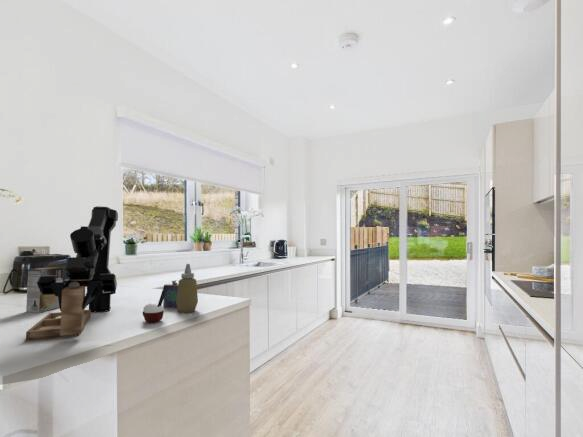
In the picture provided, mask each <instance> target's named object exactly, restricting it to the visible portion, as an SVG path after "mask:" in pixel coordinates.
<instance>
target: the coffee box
mask: <svg viewBox="0 0 583 437" xmlns="http://www.w3.org/2000/svg"><path fill="white" fill-rule="evenodd" d="M51 275H57V277H58V278H63V267H62V266H61V267H60V266H59V267H53V266H52V267H50V266H49V267H39V268H31V269H30V268H28V270H27V285H26V306H25V308H26V309H25V311H26V313H43V312H46V311H47V312H48V311H51V310H52V311H53V310H54V309H55V310H56V309H60V308H59V300H58V296H55V295H54V294H51V295H43V294H41V292H40V289H39V287H38V285H37V281H38V279H39V278H40V277H41V276H51Z"/></svg>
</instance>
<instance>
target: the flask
mask: <svg viewBox="0 0 583 437" xmlns="http://www.w3.org/2000/svg"><path fill="white" fill-rule="evenodd" d="M178 283H179V282H177V280H172V281H171V283H169V284H168V283H167V284H164V285H163V287H164V286H168V287H167V290H166V293H165V296H164V299H163V302H162V306H163V307H164V308H170V307H175V308H174V309H178V307H177V304H176V299H177V291H178Z"/></svg>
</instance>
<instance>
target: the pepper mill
mask: <svg viewBox="0 0 583 437" xmlns="http://www.w3.org/2000/svg"><path fill="white" fill-rule="evenodd" d="M85 295H86V287H80V284H79V283H78V282H75V281H74V282H71V283H70V284H69V286H68V287H66V288H65V289H63V290H62V303H61V311H60V312H61V330H60V336H64V335H73V334H79V335H80V334H82V332H83V331H84V330H85V326H84V311H85V310H86V308H85V309H82V305H83V301H84V298H85Z"/></svg>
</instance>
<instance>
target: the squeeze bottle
mask: <svg viewBox="0 0 583 437" xmlns="http://www.w3.org/2000/svg"><path fill="white" fill-rule="evenodd" d="M185 264H186V265H185V268H184V272H183V273H181V275H180V276H181V278H180V279H179V280H178V282H177V283H178V284H177V285H178V291H177V299H176V304H177V307H178V308H177V310H178V312H179V313H183V314H184V313H192V312H195V311H196V308H197V305H198V303H199V298H198V296H199V294H198V288H197V287H198V285H197V279H196V278H195V273H194V272H192V270H191V265H190V263H185Z"/></svg>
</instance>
